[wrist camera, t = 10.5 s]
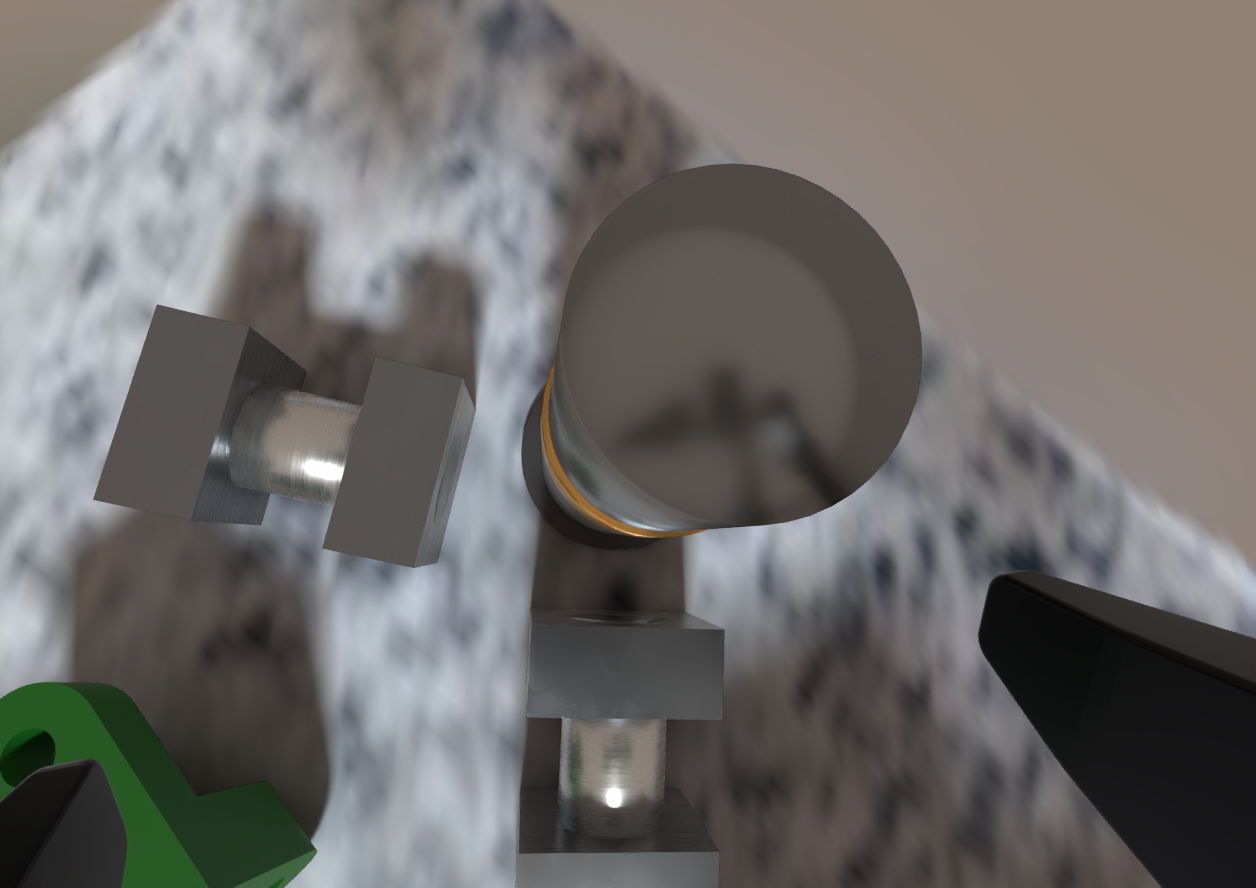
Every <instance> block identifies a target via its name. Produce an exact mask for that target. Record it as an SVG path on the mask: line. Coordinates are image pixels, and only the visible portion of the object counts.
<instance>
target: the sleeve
mask: <svg viewBox="0 0 1256 888" xmlns="http://www.w3.org/2000/svg"><path fill="white" fill-rule="evenodd" d="M921 364H922V346H921V332H920V326H919V321H918V315H917V310H916V307H915V304H914V300H913V297H912V294H911V291H910V288H909V286H908V283H907V281H906V279H905V277H904V274H903V272H902V270H901V268H900V266H899V264H898V263H897V262H896V260H895V258H894V256H893V254H892V253H891V251H890V249H889V248H888V247H887V246H886V244H885V243H884V241H883V240H882V239H881V238H880V236H879V235H878V234H877V232H876V231H875V230H874V229H873V228H872V227H871V226H870V225H869V224H868V223H867V222H866V221H865V220H864V219H863V218H862V217H861V216H860V214H858V213H857V212H856V211H854V209H852V208H851V207H850V206H848V205H847V204H846V203H845V202H844V201H842V200H841V199H839V198H838V197H836V196H835V195H833V194H832V193H830V192H828V191H827V190H825V189H824V188H822V187H820V186H818V185H816V184H814V183H812V182H810V181H808V180H805V179H803V178H801V177H799V176H796V175H793V174H790V173H787V172H783V171H780V170H777V169H772V168H767V167H762V166H756V165H744V164H720V165H708V166H703V167H697V168H692V169H687V170H684V171H681V172H678V173H675V174H672V175H669V176H666V177H664V178H662V179H660V180H658V181H656V182H654V183H652V184H650V185H648V186H646V187H644V188H643V189H641V190H640V191H638V192H637V193H635V194H634V195H632V196H631V197H629V198H628V199H626V200H625V201H624V202H623V203H622V204H621V205H620V206H619V207H618V208H616V209H615V210H614V211H613V212H612V213H611V214H610V215H609V216H608V217H607V218H606V219H605V221H604V222H603V223H602V224H601V225H600V227H599V228H598V229H597V230H596V231H595V232H594V234H593V236H592V237H591V239H590V240H589V242H588V244H587V245H586V247H585V248H584V250H583V252H582V253H581V256H580V258H579V260H578V262H577V265H576V267H575V269H574V271H573V273H572V277H571V280H570V283H569V287H568V290H567V294H566V298H565V304H564V310H563V316H562V322H561V328H560V335H559V341H558V347H557V353H556V359H555V363H554V365H553V367H552V369H551V372H550V374H549V378H548V381H547V385H546V388H545V394H544V401H543V408H542V416H541V442H542V446H541V470H542V475H543V479H544V483H545V485H546V488H547V490H548V492H549V494H550V496H551V498H552V499H553V501H554V502H555V504H556V505H557V506H558V508H559V509H560V510H561V511H562V512H563V513H564V514H565V515H566V516H567V517H569V518H570V519H571V520H572V521H574V522H575V523H577V524H579V525H580V526H582V527H584V528H586V529H589V530H591V531H594V532H597V533H601V534H607V535H626V536H633V537H640V538H661V537H678V536H685V535H691V534H694V533H698V532H702V531H705V530H707V529H718V528H732V527H746V526H760V525H769V524H777V523H784V522H789V521H793V520H796V519H800V518H804V517H807V516H811V515H813V514H815V513H817V512H820V511H822V510H824V509H827V508H829V507H831V506H833V505H835V504H836V503H838V502H839V501H841V500H843V499H844V498H846V497H848V496H849V495H851V494H852V493H853V492H855V491H856V490H857V489H858V488H860V487H861V486H862V485H863V484H864V483H866V482H867V481H868V480H869V479H870V478H871V477H872V476H873V475H874V474H875V473H876V472H877V471H878V469H879V468H880V467H881V466H882V465H883V464H884V463H885V462H886V460H887V459H888V457H889V456H890V454H891V453H892V452H893V450H894V449H895V447H896V446H897V444H898V442H899V441H900V439H901V437H902V435H903V433H904V431H905V429H906V427H907V425H908V422H909V420H910V417H911V414H912V411H913V408H914V405H915V402H916V398H917V393H918V388H919V384H920V377H921Z"/></svg>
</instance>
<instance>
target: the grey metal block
mask: <svg viewBox="0 0 1256 888" xmlns="http://www.w3.org/2000/svg"><path fill="white" fill-rule="evenodd" d="M723 672H724V629H722V628H720V627H717V626H715V625H713V624H711V623H708V622H706V621H704V620H701V619H699V618H697V617H694V616H692V615H690V614H688V613H684V612H651V611H617V610H584V609H550V608H530V626H529V644H528V662H527V680H526V718H562V729H561V749H560V769H559V789H520V804H519V822H518V840H517V858H516V881H515V888H719V850H718V849H717V847H716V845H715V844H714V842H713V841H712V839H711V837H710V836H709V834H708V833H707V831H706V829H705V828H704V826H703V825H702V823H701V821H700V820H699V818H698V817H697V815H696V813H695V812H694V810H693V809H692V807H691V805H690V804H689V802H688V801H687V799H686V797H685V796H684V794H683V793H682V791H681V789H665V758H666V726H667V719H673V720H722V717H723Z"/></svg>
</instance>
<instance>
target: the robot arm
mask: <svg viewBox="0 0 1256 888" xmlns="http://www.w3.org/2000/svg"><path fill="white" fill-rule="evenodd" d="M978 639H979V644H980V648H981V650H982V653H983V654H984V656H985V658H986V659H987V661H988V662H989V664H990V665H991V666H992V668H993V669H994V671H995V672H996V674H997V675H998V676H999V678H1000V679H1001V681H1002V682H1003V684H1004V685H1005V686H1006V688H1007V689H1008V691H1009V692H1010V694H1011V695H1012V696H1013V698H1014V699H1015V701H1016V702H1017V704H1018V705H1019V706H1020V708H1021V709H1022V711H1023V712H1024V714H1025V715H1026V716H1027V718H1028V719H1029V721H1030V722H1031V724H1032V725H1033V726H1034V728H1035V729H1036V731H1037V732H1038V734H1039V735H1040V736H1041V738H1042V739H1043V741H1044V742H1045V744H1046V745H1047V746H1048V748H1049V749H1050V751H1051V752H1052V753H1053V755H1054V756H1055V758H1056V759H1057V760H1058V762H1059V763H1060V764H1061V766H1062V767H1063V769H1064V770H1065V771H1066V772H1067V774H1068V775H1069V776H1070V777H1071V779H1072V780H1073V781H1074V782H1075V784H1076V785H1077V786H1078V787H1079V789H1080V790H1081V791H1082V792H1083V794H1084V795H1085V796H1086V797H1087V798H1088V800H1089V801H1090V802H1091V803H1092V804H1093V806H1094V807H1095V808H1096V809H1097V810H1098V812H1099V813H1100V814H1101V815H1102V816H1103V818H1104V819H1105V820H1106V821H1107V822H1108V824H1109V825H1110V826H1111V827H1112V828H1113V830H1114V831H1115V832H1116V833H1117V834H1118V836H1119V837H1120V838H1121V839H1122V840H1123V842H1124V843H1125V844H1126V845H1127V846H1128V848H1129V849H1130V850H1131V851H1132V852H1133V854H1134V855H1135V856H1136V857H1137V858H1138V860H1139V861H1140V862H1141V863H1142V864H1143V866H1144V867H1145V868H1146V869H1147V870H1148V872H1149V873H1150V874H1151V875H1152V876H1153V878H1154V879H1155V880H1156V881H1157V882H1158V884H1159V885H1160V886H1161V887H1162V888H1256V639H1255V638H1252V637H1249V636H1245V635H1242V634H1239V633H1236V632H1232V631H1229V630H1226V629H1222V628H1219V627H1216V626H1213V625H1209V624H1206V623H1203V622H1200V621H1196V620H1193V619H1190V618H1186V617H1183V616H1180V615H1177V614H1173V613H1170V612H1167V611H1164V610H1160V609H1157V608H1154V607H1150V606H1147V605H1144V604H1141V603H1137V602H1134V601H1131V600H1128V599H1124V598H1121V597H1118V596H1114V595H1111V594H1108V593H1105V592H1101V591H1098V590H1095V589H1092V588H1088V587H1085V586H1082V585H1078V584H1075V583H1072V582H1069V581H1065V580H1062V579H1059V578H1056V577H1052V576H1049V575H1046V574H1042V573H1039V572H1036V571H1032V570H1020V571H1015V572H1010V573H1005V574H1000V575H998V576H996V577H994V579H993V580H992V581H991V583H990V584H989V587H988V591H987V596H986V600H985V605H984V609H983V614H982V618H981V623H980V627H979V633H978ZM127 853H128V838H127V830H126V826H125V823H124V820H123V817H122V815H121V812H120V809H119V806H118V804H117V801H116V798H115V795H114V793H113V790H112V787H111V784H110V782H109V779H108V776H107V773H106V771H105V769H104V767H103V766H102V764H101V763H100V762H99V761H98V760H95V759H91V758H86V759H81V760H76V761H71V762H66V763H61V764H56V765H51V766H47V767H44V768H41V769H38V770H37V771H35V772H33V773H32V774H31V775H29V776H28V777H27V778H26V779H25V780H23V781H22V782H21V783H20V784H19V785H18V786H17V787H15V788H14V789H13V790H12V791H11V792H10V793H9V794H7V795H6V796H5V797H4V798H3V799H2V800H1V801H0V888H122V885H123V879H124V873H125V867H126V861H127Z"/></svg>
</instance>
